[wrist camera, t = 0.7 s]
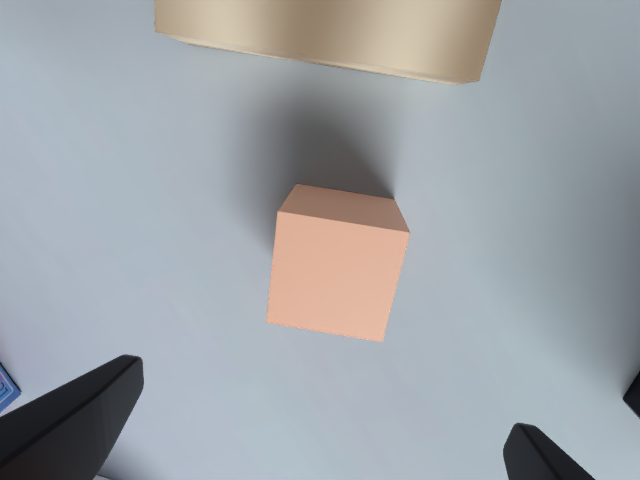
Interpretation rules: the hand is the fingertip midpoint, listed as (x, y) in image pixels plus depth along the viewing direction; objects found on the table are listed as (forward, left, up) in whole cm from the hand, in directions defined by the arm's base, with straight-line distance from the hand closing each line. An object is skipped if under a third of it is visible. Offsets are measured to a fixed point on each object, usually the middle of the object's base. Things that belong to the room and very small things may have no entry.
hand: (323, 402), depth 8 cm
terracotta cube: (0, 0, -11) cm, 11 cm away
